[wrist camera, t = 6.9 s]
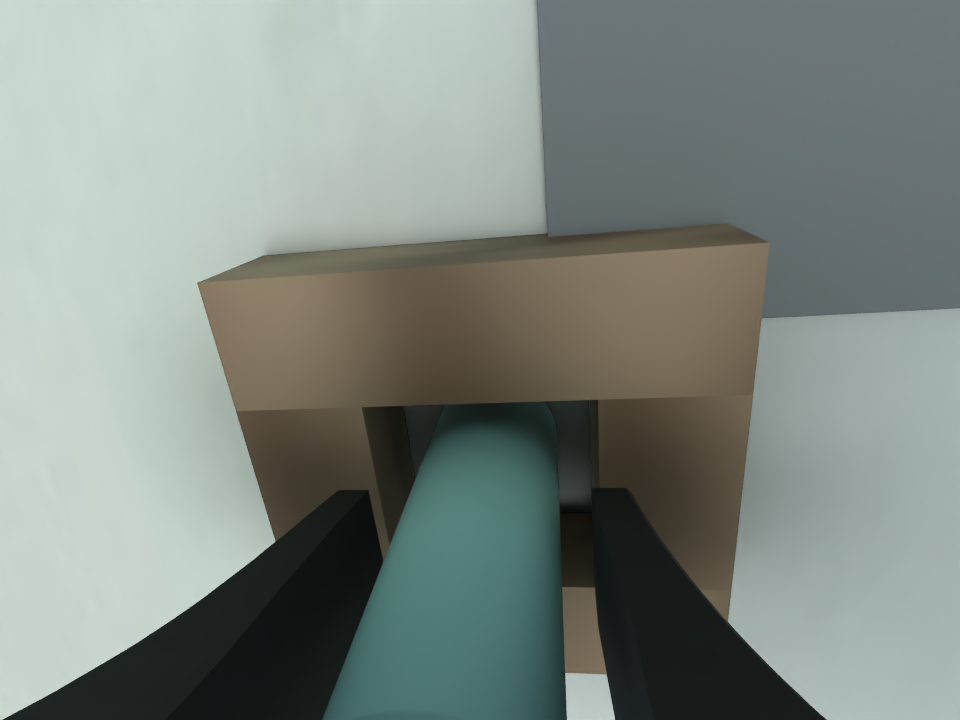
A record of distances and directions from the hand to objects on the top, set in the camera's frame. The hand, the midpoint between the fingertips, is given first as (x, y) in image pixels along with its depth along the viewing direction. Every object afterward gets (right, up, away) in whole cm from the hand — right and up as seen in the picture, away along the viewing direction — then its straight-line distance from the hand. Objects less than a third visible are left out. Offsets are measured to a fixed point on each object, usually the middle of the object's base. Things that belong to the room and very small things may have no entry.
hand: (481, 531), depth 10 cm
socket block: (0, +1, +3) cm, 3 cm away
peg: (0, +1, +3) cm, 3 cm away
